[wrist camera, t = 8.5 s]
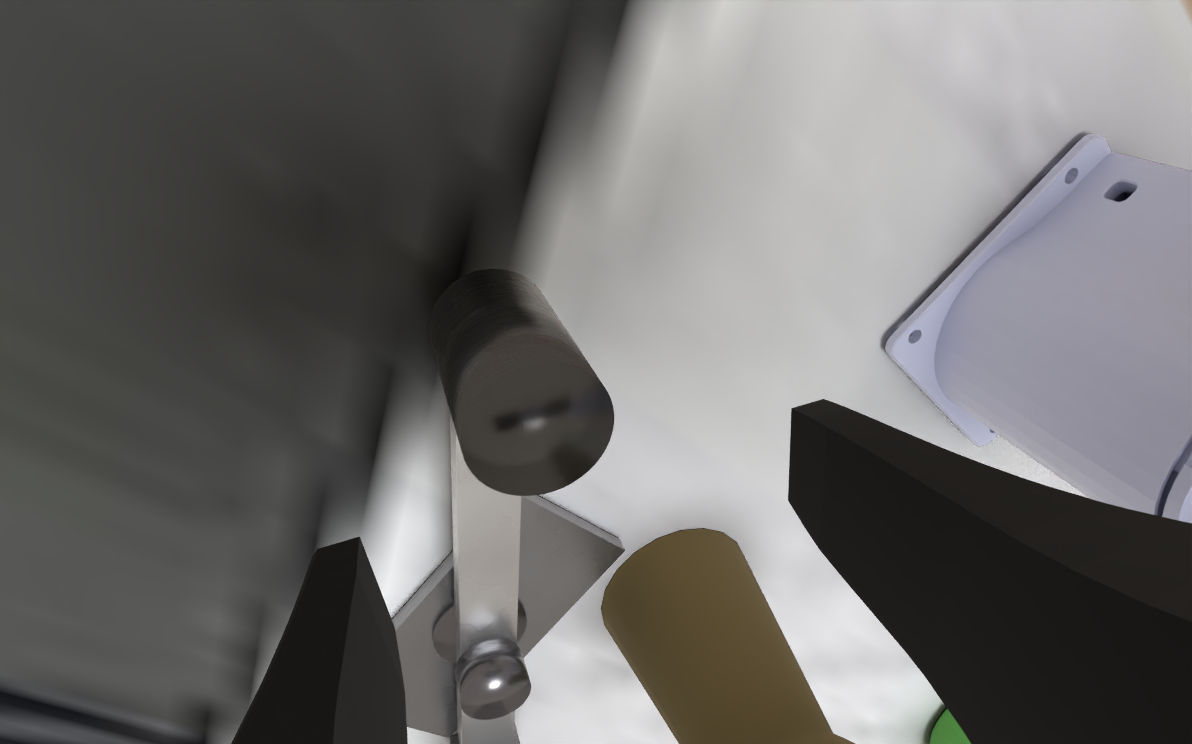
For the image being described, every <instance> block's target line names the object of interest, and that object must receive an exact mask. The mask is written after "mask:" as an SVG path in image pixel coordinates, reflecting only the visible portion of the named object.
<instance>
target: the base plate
mask: <svg viewBox="0 0 1192 744" xmlns="http://www.w3.org/2000/svg"><path fill="white" fill-rule="evenodd" d="M624 551H625V549H624V547H623V545H622V543H621V541H620V539H619V538H617V537H615V536H613V535H611V534H609V533H607V532H605V531H604V530H602V529H600V528H598V527H596V526H594V525H592V524H590V523H589V522H587V521H585V520H583V519H581V518H579V517H577V516H576V515H574V514H572V513H570V512H568V511H566V510H564V509H562V508H561V507H559V506H557V505H555V504H553V503H551V502H549V501H547V500H546V499H544V498H542V497H540V496H538V495H534V496H521V520H520V552H519V584H518V616H517V646H518V647H519V648H520V650H521V652H522V656H523V658H524V657H525V656H526V655H527V654H528V653H529V652H530V651H531V649H532V648H533V647H534V646H535V645H536V644H537V643H538V642H539V641H540V640H541V639H542V638H543V637H544V636H545V635H546V634H547V633H548V631H549V630H550V629H551V628H552V627H553V626H554V625H555V624H556V623H557V622H558V621H559V620H560V619H561V618H562V617H563V616H564V615H565V613H566V612H567V611H568V610H569V609H570V608H571V607H572V606H573V605H574V604H575V603H576V602H577V601H578V600H579V599H580V598H581V597H582V596H583V594H584V593H585V592H586V591H587V590H588V589H589V588H590V587H591V586H592V585H593V584H594V583H595V582H596V581H597V580H598V579H599V578H600V576H601V575H602V574H603V573H604V572H605V571H606V570H607V569H608V568H609V567H610V566H611V565H612V564H613V563H614V562H615V561H616V560H617V558H618V557H619V556H620V555H621V554H622V553H623V552H624ZM392 622H393V625H394V627H395V631H396V637H397V644H398V650H399V656H400V662H401V668H402V675H403V682H404V688H405V700H406V721H407V727H410V728H414V729H418V730H421V731H425V732H429V733H433V734H436V735H440V736H444V737H449V736H450V735H451V734H452V733H453V732H454V731H455V730H456V729H457V728H458V720H457V683H456V677H455V665H456V641H455V601H454V561H453V551H452V552H451V553H450V554H449V556H448V557H447V558H446V559H445V560H444V561H443V562H442V564H441V565H440V566H439V567H438V568H437V569H436V570H435V571H434V573H433V574H432V575H431V576H430V577H429V578H428V579H427V580H426V582H425V583H424V584H423V585H422V586H421V587H420V588H419V589H418V591H417V592H416V593H415V594H414V595H413V596H412V597H411V598H410V600H409V601H408V602H407V603H406V604H405V605H404V606H403V607H402V609H401V610H400V611H399V612H398V613H397V614H396V615H395V616H394V618H393V619H392Z"/></svg>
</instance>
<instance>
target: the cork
mask: <svg viewBox="0 0 1192 744" xmlns="http://www.w3.org/2000/svg"><path fill="white" fill-rule="evenodd" d="M601 610H602V615H603V620H604V625H605V627H606V628H607V630H608V632H609V633H610V635H611V636H612V638H613V639H614V641H615V643H616V644H617V646H618V647H619V649H620V651H621V652H622V654H623V655H624V657H625V659H626V660H627V662H628V663H629V665H630V666H631V668H632V670H633V671H634V673H635V674H636V676H637V678H638V679H639V681H640V682H641V684H642V686H643V687H644V689H645V690H646V692H647V693H648V695H649V697H650V698H651V700H652V701H653V703H654V705H655V706H656V708H657V709H658V711H659V713H660V714H661V716H662V717H663V719H664V720H665V722H666V724H667V725H668V727H669V728H670V730H671V732H672V733H673V735H674V736H675V738H676V740H677V741H678V743H679V744H855V743H853V742H851V741H849V740H847V739H845V738H842V737H840V736H838V735H835V734H833V732H832V730H831V728H830V726H829V724H828V722H827V720H826V718H825V716H824V714H823V712H822V710H821V708H820V706H819V704H818V702H817V700H816V698H815V696H814V694H813V692H812V690H811V688H810V686H809V684H808V682H807V680H806V678H805V676H804V674H803V672H802V670H801V668H800V666H799V664H798V662H797V660H796V658H795V656H794V654H793V652H792V650H791V648H790V646H789V645H788V643H787V641H786V639H785V637H784V635H783V633H782V631H781V629H780V627H779V625H778V623H777V621H776V619H775V617H774V615H773V613H772V611H771V609H770V607H769V605H768V603H767V601H766V599H765V597H764V595H763V593H762V591H761V589H760V587H759V585H758V583H757V581H756V579H755V577H754V575H753V573H752V571H751V569H750V567H749V565H748V563H747V561H746V559H745V557H744V555H743V553H742V551H741V549H740V548H739V546H738V544H737V542H736V541H734V540H733V539H731V538H730V537H728V536H727V535H726V534H724V533H723V532H718V531H713V530H709V529H704V528H702V529H691V530H681V531H678V532H675V533H672V534H669V535H666V536H663V537H661V538H658V539H656V540H654V541H653V542H651V543H649V544H648V545H646V546H645V547H643V548H641V549H640V550H638V551H637V552H635V553H634V554H633V555H632V556H631V557H630V558H629V559H628V560H627V561H626V562H625V563H624V564H623V565H622V566H621V567H620V568H619V569H618V570H617V571H616V573H615V574H614V576H613V578H612V579H611V581H610V583H609V584H608V586H607V588H606V589H605V593H604V598H603V602H602V607H601Z"/></svg>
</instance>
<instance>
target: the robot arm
mask: <svg viewBox="0 0 1192 744" xmlns="http://www.w3.org/2000/svg"><path fill="white" fill-rule="evenodd" d="M912 332H913V333H912ZM911 333H912V335H911V336H910V337H909V335H910V334H911ZM885 350H886V352H887V354H888V355H889V356H890V357H891V358H892V359H893V360H894V361H895V362H896V364H897V365H898V366H899V367H900V368H901V369H902V370H903V371H904V372H905V373H906V374H907V375H908V376H909V377H910V378H911V379H912V380H913V381H914V382H915V383H916V385H917V386H918V387H919V388H920V389H921V390H922V391H923V392H924V393H925V394H926V395H927V396H928V397H929V398H930V399H931V400H932V401H933V402H934V403H935V404H936V406H937V407H938V408H939V409H940V410H941V411H942V412H943V413H944V414H945V415H946V416H947V417H948V418H949V419H950V420H951V421H952V422H953V423H954V424H955V425H956V427H957V428H958V429H959V430H960V431H961V432H962V433H963V434H964V435H965V436H966V437H967V438H968V439H969V440H970V441H971V442H972V443H974V444H975V445H977V446H984V445H986V444H988V443H989V442H991V441H992V440H993V439H994V438H995V437H996V436H997V435H1000V436H1001V437H1003V438H1004V439H1005V440H1007V441H1008V442H1010V443H1011V444H1013V445H1014V446H1016V447H1017V448H1018V449H1020V450H1021V451H1023V452H1024V453H1026V454H1027V455H1028V456H1030V457H1031V458H1033V459H1034V460H1036V461H1037V462H1038V463H1040V464H1041V465H1043V466H1044V467H1046V468H1047V469H1048V470H1050V471H1051V472H1053V473H1054V474H1056V475H1057V476H1058V477H1060V478H1061V479H1063V480H1064V481H1066V482H1067V483H1068V484H1070V485H1071V486H1073V487H1074V488H1076V489H1077V490H1078V491H1080V492H1081V493H1083V494H1084V495H1086V496H1087V497H1089V498H1090V499H1089V498H1086V497H1082V496H1079V495H1075V494H1072V493H1069V492H1065V491H1062V490H1058V489H1055V488H1052V487H1048V486H1045V485H1042V484H1039V483H1036V482H1033V481H1030V480H1027V479H1024V478H1021V477H1018V476H1015V475H1012V474H1010V473H1007V472H1004V471H1001V470H999V469H996V468H993V467H990V466H987V465H985V464H982V463H979V462H977V461H974V460H971V459H969V458H966V457H964V456H961V455H958V454H956V453H953V452H951V451H948V450H946V449H943V448H941V447H939V446H936V445H934V444H931V443H929V442H926V441H924V440H922V439H919V438H917V437H915V436H912V435H910V434H907V433H905V432H903V431H900V430H898V429H896V428H893V427H891V426H889V425H886V424H884V423H882V422H879V421H877V420H875V419H872V418H870V417H868V416H865V415H863V414H860V413H858V412H856V411H853V410H851V409H848V408H846V407H844V406H841V405H838V404H836V403H833V402H830V401H828V400H825V399H822V400H819V401H815V402H812V403H808V404H805V405H802V406H798V407H795V408H792V412H791V439H790V466H789V493H788V501H789V502H790V504H791V506H792V507H793V509H794V511H795V512H796V514H797V515H798V517H799V519H800V520H801V522H802V524H803V525H804V527H805V528H806V530H807V531H808V533H809V534H810V536H811V537H812V539H813V540H814V542H815V543H816V545H817V546H818V548H819V549H820V551H821V552H822V553H823V554H824V556H825V557H826V558H827V559H828V560H829V562H830V563H831V564H832V565H833V566H834V568H835V569H836V570H837V571H838V572H839V574H840V575H841V576H842V577H843V578H844V580H845V581H846V582H847V583H848V584H849V586H850V587H851V588H852V589H853V590H854V592H855V593H856V594H857V595H858V596H859V597H860V599H861V600H862V601H863V602H864V603H865V604H866V606H867V607H868V608H869V609H870V610H871V611H872V613H873V614H874V615H875V616H876V617H877V619H878V620H879V621H880V622H881V623H882V624H883V626H884V627H885V628H886V629H887V630H888V631H889V633H890V634H891V635H892V636H893V637H894V639H895V640H896V641H897V642H898V643H899V644H900V646H901V647H902V648H903V649H904V650H905V651H906V653H907V654H908V655H909V657H910V658H911V659H912V660H913V662H914V663H915V664H916V665H917V667H918V668H919V669H920V671H921V672H922V673H923V674H924V676H925V677H926V678H927V680H928V681H929V683H930V684H931V686H932V687H933V689H934V690H935V691H936V693H937V694H938V696H939V697H940V699H941V700H942V702H943V703H944V704H945V706H946V707H947V709H948V710H949V712H950V713H951V714H952V716H953V717H954V719H955V720H956V722H957V723H958V725H959V726H960V727H961V729H962V730H963V732H964V733H965V735H966V737H967V738H968V740H969V741H970V743H971V744H1192V171H1190V170H1186V169H1182V168H1178V167H1173V166H1169V165H1165V164H1161V163H1157V162H1153V161H1148V160H1144V159H1140V158H1136V157H1132V156H1128V155H1124V154H1119V153H1115V152H1112V151H1111V149H1110V147H1109V145H1108V143H1107V141H1106V139H1105V138H1104V137H1103V136H1100V135H1096V134H1088V135H1085V136H1084V137H1083V138H1082V139H1080V140H1079V141H1078V142H1077V143H1076V144H1075V145H1074V147H1073V148H1072V149H1071V150H1070V151H1069V152H1068V153H1067V154H1066V155H1065V156H1064V157H1063V158H1062V159H1061V160H1060V161H1059V162H1058V163H1057V164H1056V165H1055V166H1054V167H1053V168H1052V169H1051V170H1050V171H1049V172H1048V173H1047V174H1046V176H1045V177H1044V178H1043V179H1042V180H1041V181H1040V182H1039V183H1038V184H1037V185H1036V186H1035V187H1034V188H1033V189H1032V190H1031V191H1030V192H1029V193H1028V194H1027V195H1026V196H1025V197H1024V198H1023V199H1022V200H1021V201H1020V202H1019V203H1018V205H1017V206H1016V207H1015V208H1014V209H1013V210H1012V211H1011V212H1010V213H1009V214H1008V215H1007V216H1006V217H1005V218H1004V219H1003V220H1002V221H1001V222H1000V223H999V224H998V225H997V226H996V227H995V228H994V229H993V230H992V231H991V232H990V234H989V235H988V236H987V237H986V238H985V239H984V240H983V241H982V242H981V243H980V244H979V245H978V246H977V247H976V248H975V249H974V250H973V251H972V252H971V253H970V254H969V255H968V256H967V257H966V258H965V259H964V260H963V261H962V263H961V264H960V265H959V266H958V267H957V268H956V269H955V270H954V271H953V272H952V273H951V274H950V275H949V276H948V277H947V278H946V279H945V280H944V281H943V282H942V283H941V284H940V285H939V286H938V287H937V288H936V289H935V290H934V292H933V293H932V294H931V295H930V296H929V297H928V298H927V299H926V300H925V301H924V302H923V303H922V304H921V305H920V306H919V307H918V308H917V309H916V310H915V311H914V312H913V313H912V314H911V315H910V316H909V317H908V318H907V319H906V321H905V322H904V323H903V324H902V325H901V326H900V327H899V328H898V329H897V330H896V331H895V332H894V333H893V334H892V335H891V336H890V337H889V339H888V340H887V343H886V346H885ZM231 744H407V721H406V700H405V688H404V682H403V675H402V668H401V662H400V656H399V650H398V644H397V637H396V631H395V627H394V625H393V622H392V619H391V617H390V614H389V612H388V609H387V606H386V604H385V601H384V599H383V596H382V594H381V591H380V588H379V586H378V583H377V581H376V578H375V575H374V573H373V570H372V568H371V565H370V562H369V560H368V557H367V555H366V552H365V549H364V547H363V544H362V542H361V539H360V537H357V538H353V539H350V540H347V541H343V542H340V543H336V544H333V545H330V546H326V547H323V548H320V549H317V551H316V552H315V554H314V555H313V557H312V559H311V562H310V565H309V568H308V571H307V574H306V576H305V579H304V582H303V585H302V587H301V590H300V593H299V596H298V598H297V601H296V603H295V606H294V609H293V611H292V614H291V616H290V619H289V621H288V624H287V626H286V629H285V631H284V633H283V636H282V638H281V640H280V642H279V645H278V647H277V649H276V652H275V654H274V656H273V658H272V661H271V663H270V665H269V668H268V670H267V672H266V674H265V677H264V679H263V681H262V683H261V685H260V687H259V689H258V691H257V693H256V695H255V697H254V699H253V701H252V703H251V705H250V707H249V709H248V711H247V713H246V715H245V717H244V719H243V721H242V723H241V725H240V727H239V729H238V731H237V733H236V735H235V737H234V739H233V741H232V743H231Z"/></svg>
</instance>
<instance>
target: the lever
mask: <svg viewBox="0 0 1192 744" xmlns="http://www.w3.org/2000/svg"><path fill="white" fill-rule="evenodd" d="M428 331H429V339H430V343H431V347H432V350H433V354H434V357H435V361H436V364H437V367H438V371H439V374H440V378H441V381H442V385H443V388H444V392H445V395H446V399H447V402H448V406H449V409H450V442H451V482H452V521H453V561H454V601H455V641H456V665H455V677H456V683H457V720H458V734H454V735H450V736H449V744H520V741H519V738H518V734H517V730H516V726H515V722H514V711H515V710H516V709H517V708H519V707H520V706H521V705H522V704H523V703H524V702H525V700H526V699H527V698H528V696H529V694H530V690H531V683H530V680H529V676H528V673H527V669H526V666H525V662H524V659H523V656H522V652H521V650H520V648H519V647H518V646H517V616H518V584H519V552H520V520H521V496H534V495H540V494H546V493H549V492H552V491H556V490H558V489H561V488H563V487H565V486H567V485H569V484H571V483H573V482H574V481H576V480H577V479H579V478H580V477H582V476H583V475H584V474H585V473H586V472H588V471H589V470H590V469H591V468H592V467H593V466H594V465H595V464H596V462H597V461H598V460H599V458H600V457H601V456H602V454H603V453H604V451H605V449H606V447H607V445H608V443H609V441H610V438H611V435H612V431H613V425H614V411H613V405H612V401H611V398H610V396H609V394H608V392H607V390H606V389H605V387H604V386H603V384H602V383H601V381H600V380H599V378H598V377H597V375H596V374H595V372H594V371H593V369H592V368H591V366H590V365H589V363H588V362H587V360H586V359H585V357H584V356H583V354H582V353H581V351H580V350H579V348H578V347H577V345H576V344H575V342H574V341H573V339H572V338H571V336H570V335H569V333H568V332H567V330H566V329H565V327H564V326H563V324H562V323H561V321H560V320H559V318H558V317H557V315H556V314H555V312H554V311H553V309H552V308H551V306H550V305H549V303H548V302H547V300H546V299H545V297H544V296H543V294H542V293H541V291H540V290H539V289H538V288H537V287H536V285H535V284H533V283H532V282H531V281H530V280H529V279H527V278H525V277H524V276H522V275H520V274H517V273H515V272H511V271H508V270H502V269H487V270H480V271H476V272H473V273H470V274H467V275H465V276H463V277H461V278H459V279H458V280H456V281H455V282H453V283H452V284H451V285H450V286H449V287H447V288H446V289H445V290H444V292H443V293H442V294H441V295H440V297H439V298H438V300H437V301H436V303H435V305H434V307H433V309H432V312H431V315H430V319H429V330H428Z"/></svg>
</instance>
